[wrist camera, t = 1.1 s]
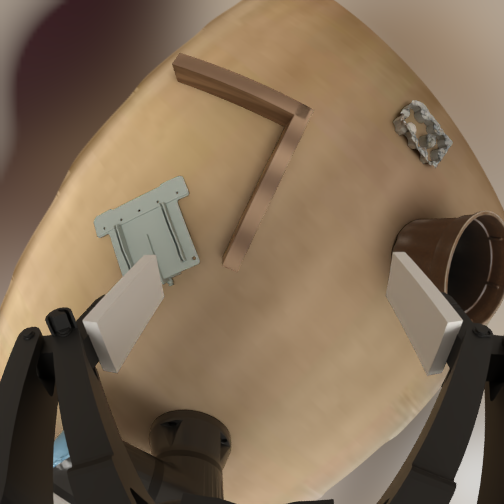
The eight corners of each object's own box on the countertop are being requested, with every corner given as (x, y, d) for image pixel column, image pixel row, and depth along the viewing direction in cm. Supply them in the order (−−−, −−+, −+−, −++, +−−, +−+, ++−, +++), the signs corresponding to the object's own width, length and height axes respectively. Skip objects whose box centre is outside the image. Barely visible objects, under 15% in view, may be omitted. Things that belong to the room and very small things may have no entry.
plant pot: (458, 267, 46) (519, 285, 30) (401, 318, 46) (458, 355, 30) (431, 191, 44) (498, 189, 28) (365, 240, 44) (429, 256, 28)
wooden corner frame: (235, 263, 42) (237, 272, 36) (114, 207, 39) (98, 208, 33) (302, 122, 40) (314, 110, 34) (184, 71, 37) (179, 52, 31)
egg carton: (386, 124, 42) (399, 118, 38) (407, 101, 41) (420, 94, 37) (424, 171, 43) (439, 169, 39) (442, 146, 43) (456, 143, 39)
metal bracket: (214, 261, 36) (113, 305, 36) (220, 265, 42) (131, 303, 41) (176, 164, 38) (86, 210, 37) (186, 179, 44) (104, 219, 43)
